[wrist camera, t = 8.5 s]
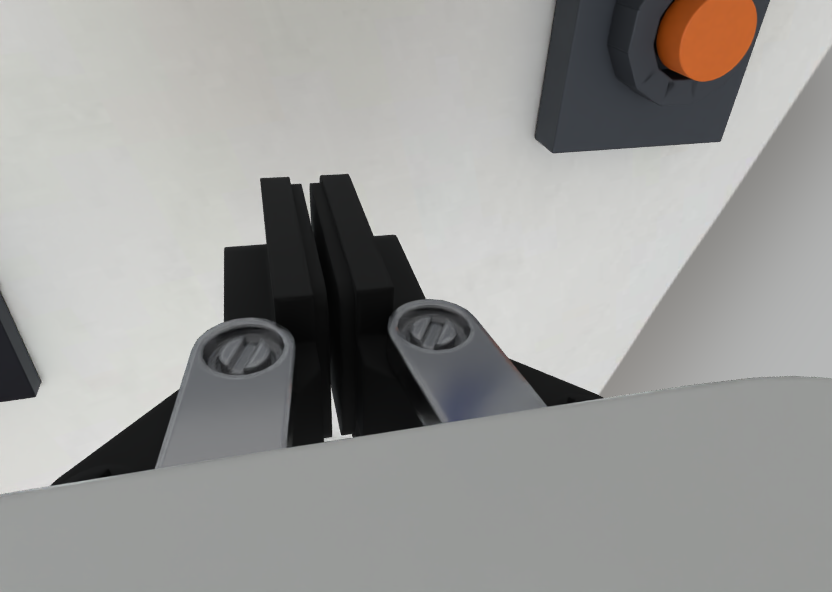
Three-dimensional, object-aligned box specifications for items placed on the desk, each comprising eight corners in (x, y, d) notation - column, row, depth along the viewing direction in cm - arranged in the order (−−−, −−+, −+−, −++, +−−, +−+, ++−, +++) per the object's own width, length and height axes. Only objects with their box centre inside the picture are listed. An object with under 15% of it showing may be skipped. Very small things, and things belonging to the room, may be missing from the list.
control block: (578, -145, 24) (631, -147, 21) (778, -133, 26) (853, -134, 23) (533, 138, 31) (568, 168, 28) (695, 128, 33) (744, 155, 30)
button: (669, -17, 24) (695, -11, 23) (741, -17, 25) (771, -10, 24) (646, 72, 27) (669, 83, 25) (713, 70, 27) (739, 80, 26)
